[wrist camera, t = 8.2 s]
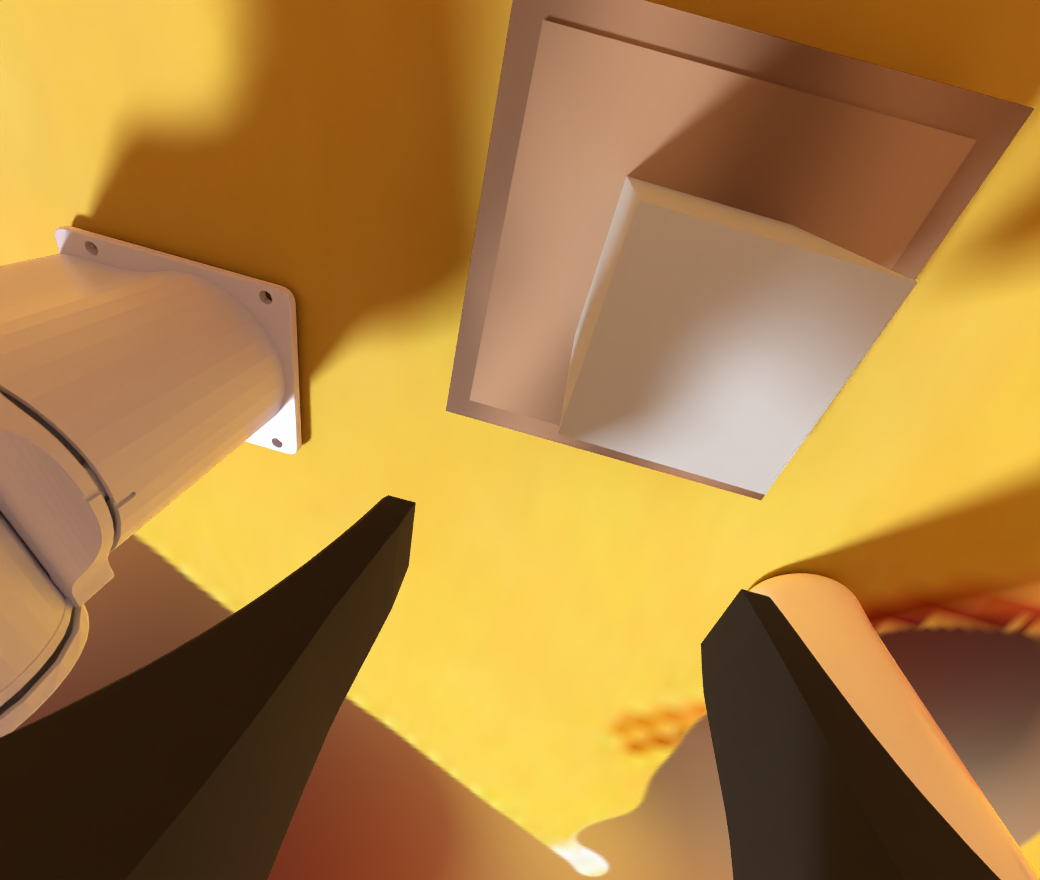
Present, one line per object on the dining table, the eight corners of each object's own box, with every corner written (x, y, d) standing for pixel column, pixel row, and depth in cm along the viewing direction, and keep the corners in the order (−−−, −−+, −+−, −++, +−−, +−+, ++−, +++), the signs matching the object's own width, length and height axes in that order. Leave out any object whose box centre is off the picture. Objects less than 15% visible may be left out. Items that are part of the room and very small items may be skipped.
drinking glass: (792, 533, 21) (1071, 1124, 8) (907, 599, 22) (1310, 1216, 9) (690, 610, 24) (776, 1101, 12) (792, 663, 25) (971, 1170, 13)
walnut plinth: (463, 381, 19) (444, 412, 17) (532, -6, 13) (517, -37, 10) (744, 461, 19) (762, 503, 17) (963, 113, 13) (1039, 108, 10)
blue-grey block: (574, 334, 15) (558, 433, 10) (626, 175, 12) (639, 200, 7) (712, 374, 15) (765, 494, 10) (791, 224, 12) (917, 282, 7)
